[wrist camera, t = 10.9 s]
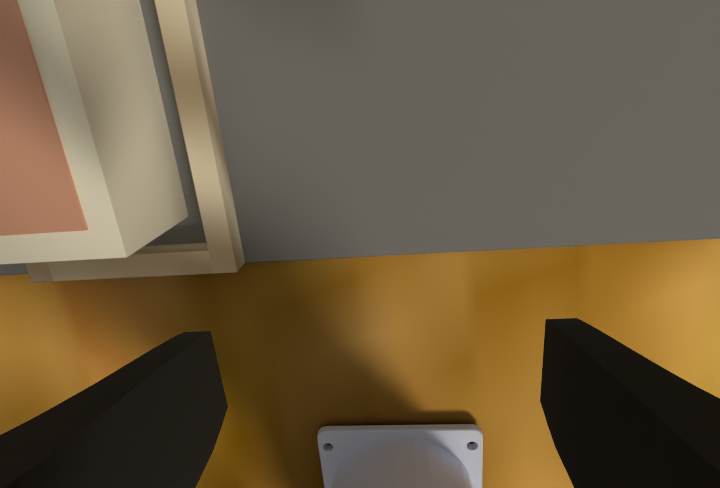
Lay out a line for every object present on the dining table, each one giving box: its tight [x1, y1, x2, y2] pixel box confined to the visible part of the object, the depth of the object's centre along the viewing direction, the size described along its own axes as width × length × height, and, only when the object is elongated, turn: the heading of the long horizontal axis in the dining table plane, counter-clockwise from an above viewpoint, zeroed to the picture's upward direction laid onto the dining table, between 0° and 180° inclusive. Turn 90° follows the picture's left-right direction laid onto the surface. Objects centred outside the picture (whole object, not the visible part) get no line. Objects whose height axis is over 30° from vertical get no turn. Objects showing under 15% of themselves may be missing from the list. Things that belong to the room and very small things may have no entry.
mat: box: [0, 0, 720, 275], centre depth 16 cm, size 13×34×1 cm, turn 95°
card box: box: [0, 0, 189, 264], centre depth 15 cm, size 9×5×5 cm, turn 5°
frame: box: [25, 0, 245, 282], centre depth 17 cm, size 13×9×1 cm
